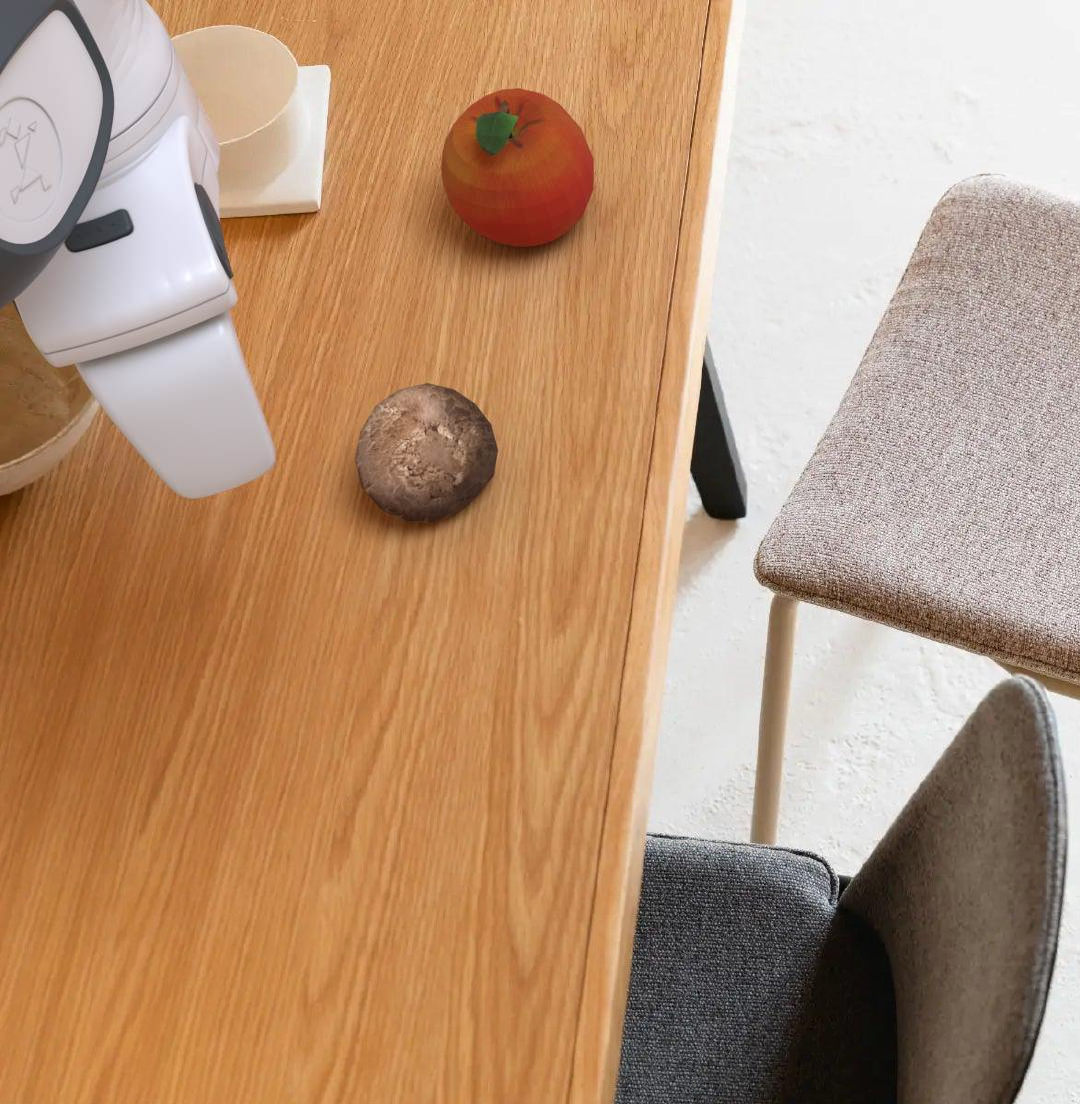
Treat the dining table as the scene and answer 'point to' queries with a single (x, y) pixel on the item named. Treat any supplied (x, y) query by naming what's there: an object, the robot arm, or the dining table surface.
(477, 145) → the fruit
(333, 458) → the dining table surface
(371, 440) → the mushroom
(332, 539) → the dining table surface
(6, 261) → the robot arm
